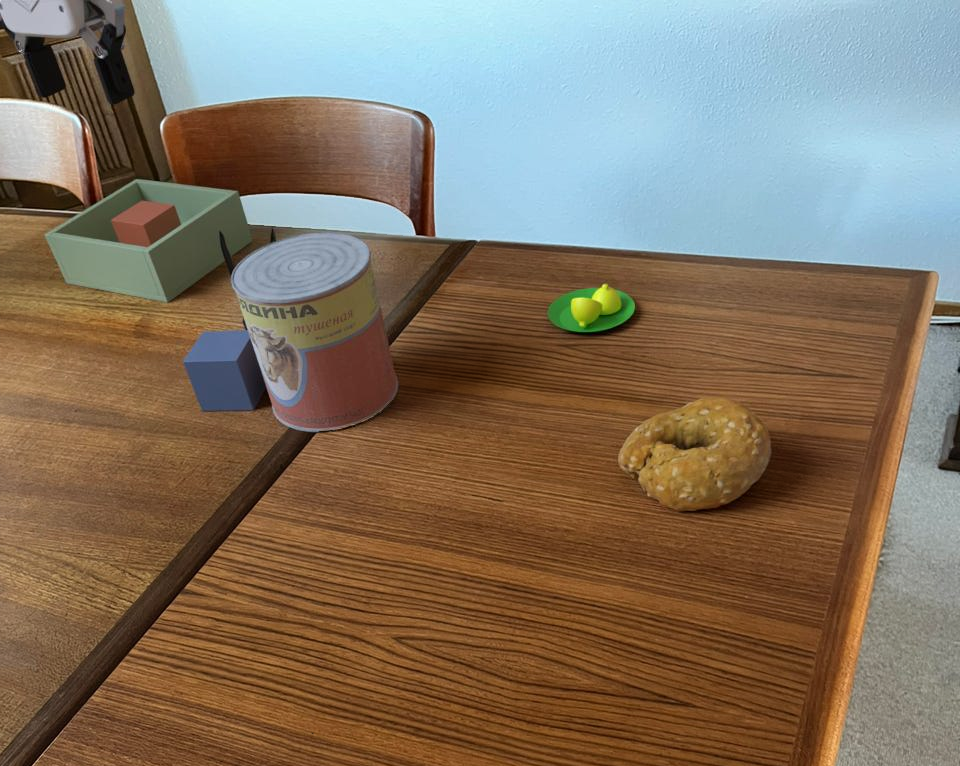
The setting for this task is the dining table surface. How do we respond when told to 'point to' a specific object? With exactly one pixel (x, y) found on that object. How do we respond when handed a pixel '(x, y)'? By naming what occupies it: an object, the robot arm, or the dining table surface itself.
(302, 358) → the canned food
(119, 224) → the terracotta block
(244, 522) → the dining table surface
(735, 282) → the dining table surface
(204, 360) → the slate-blue block
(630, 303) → the green plate with lemons
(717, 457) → the bagel
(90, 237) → the bin
